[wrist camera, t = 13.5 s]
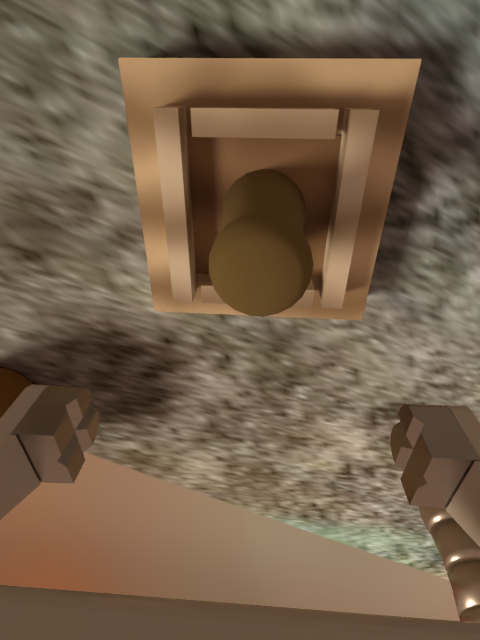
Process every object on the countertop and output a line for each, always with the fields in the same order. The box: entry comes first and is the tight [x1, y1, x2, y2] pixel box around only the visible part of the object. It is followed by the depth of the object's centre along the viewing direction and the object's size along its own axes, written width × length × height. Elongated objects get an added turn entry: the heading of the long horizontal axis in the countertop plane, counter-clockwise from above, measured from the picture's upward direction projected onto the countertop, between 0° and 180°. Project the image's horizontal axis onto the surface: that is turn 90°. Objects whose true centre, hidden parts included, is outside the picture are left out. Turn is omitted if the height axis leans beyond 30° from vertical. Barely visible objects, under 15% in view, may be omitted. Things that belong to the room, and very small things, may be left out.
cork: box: [209, 169, 314, 316], centre depth 21 cm, size 6×6×11 cm
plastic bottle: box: [419, 506, 480, 623], centre depth 40 cm, size 6×7×20 cm
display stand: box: [118, 58, 422, 320], centre depth 26 cm, size 18×18×6 cm
